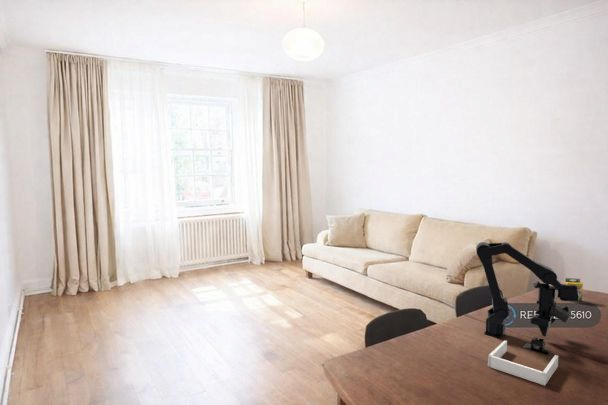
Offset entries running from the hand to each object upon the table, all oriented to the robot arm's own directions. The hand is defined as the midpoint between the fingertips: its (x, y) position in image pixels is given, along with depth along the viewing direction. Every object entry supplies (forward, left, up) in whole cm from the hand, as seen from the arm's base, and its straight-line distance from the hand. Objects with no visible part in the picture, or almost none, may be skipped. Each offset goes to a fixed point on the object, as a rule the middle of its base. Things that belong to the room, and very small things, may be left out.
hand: (544, 336), depth 161 cm
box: (0, -28, -2) cm, 28 cm away
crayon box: (-2, +64, -2) cm, 64 cm away
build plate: (0, -10, -3) cm, 10 cm away
